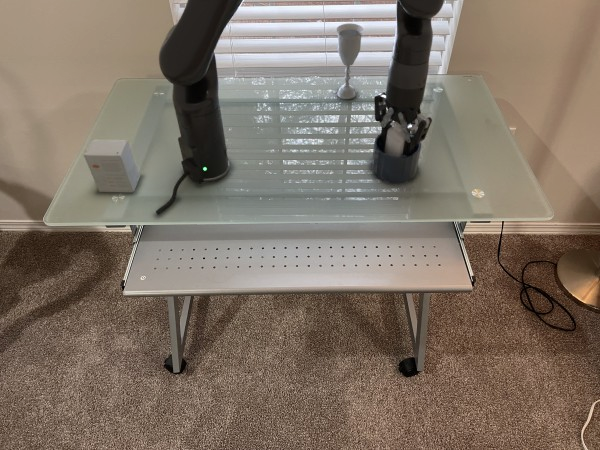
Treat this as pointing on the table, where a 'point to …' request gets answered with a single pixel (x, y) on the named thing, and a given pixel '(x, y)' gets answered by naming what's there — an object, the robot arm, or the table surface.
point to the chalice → (348, 53)
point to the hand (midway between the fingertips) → (396, 146)
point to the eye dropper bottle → (395, 141)
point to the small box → (112, 165)
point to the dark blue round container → (394, 163)
